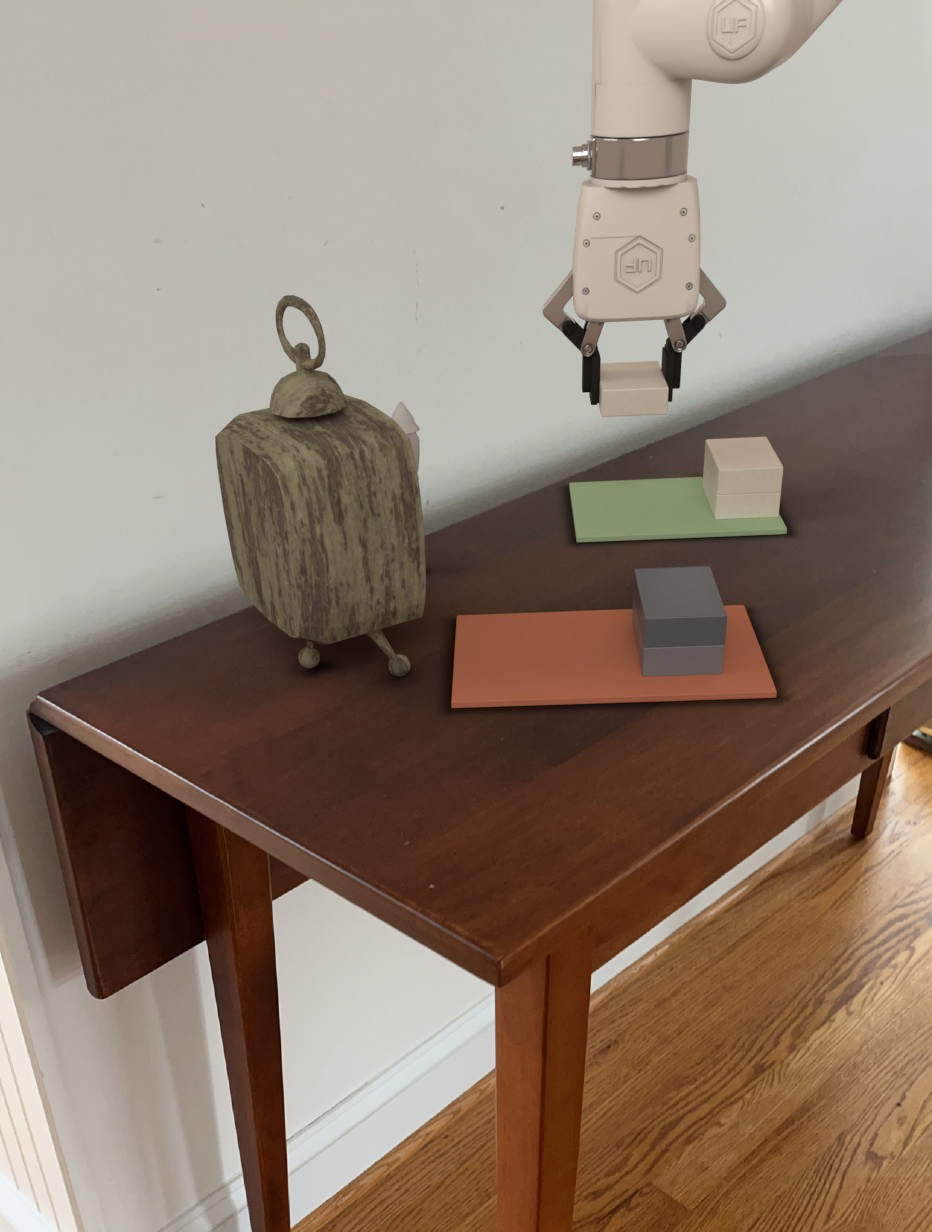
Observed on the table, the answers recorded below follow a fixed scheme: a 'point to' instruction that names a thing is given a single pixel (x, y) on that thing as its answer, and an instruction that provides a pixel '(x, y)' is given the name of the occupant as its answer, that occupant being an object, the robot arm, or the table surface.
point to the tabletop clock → (323, 509)
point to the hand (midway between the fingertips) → (630, 396)
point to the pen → (408, 428)
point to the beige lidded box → (742, 478)
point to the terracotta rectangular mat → (588, 662)
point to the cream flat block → (632, 389)
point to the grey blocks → (678, 621)
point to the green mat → (655, 512)
